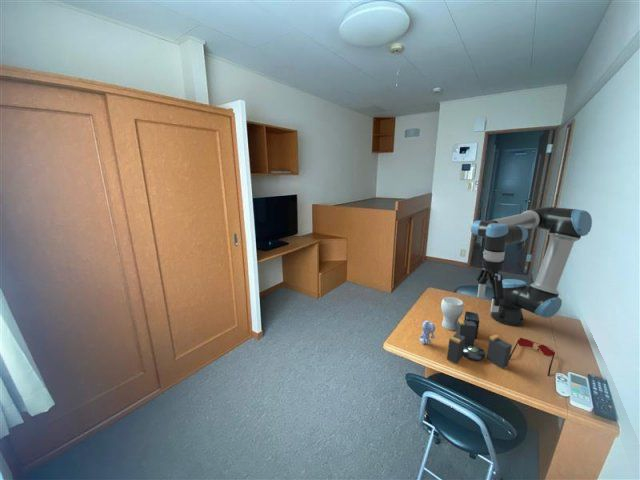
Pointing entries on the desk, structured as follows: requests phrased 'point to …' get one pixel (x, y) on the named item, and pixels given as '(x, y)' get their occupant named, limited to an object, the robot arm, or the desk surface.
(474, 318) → the box
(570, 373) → the desk surface
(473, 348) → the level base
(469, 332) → the grey tan block
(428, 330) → the toy figurine
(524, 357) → the desk surface
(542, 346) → the glasses
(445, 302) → the cup
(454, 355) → the dark grey block
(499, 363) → the dark grey tan-ended block
